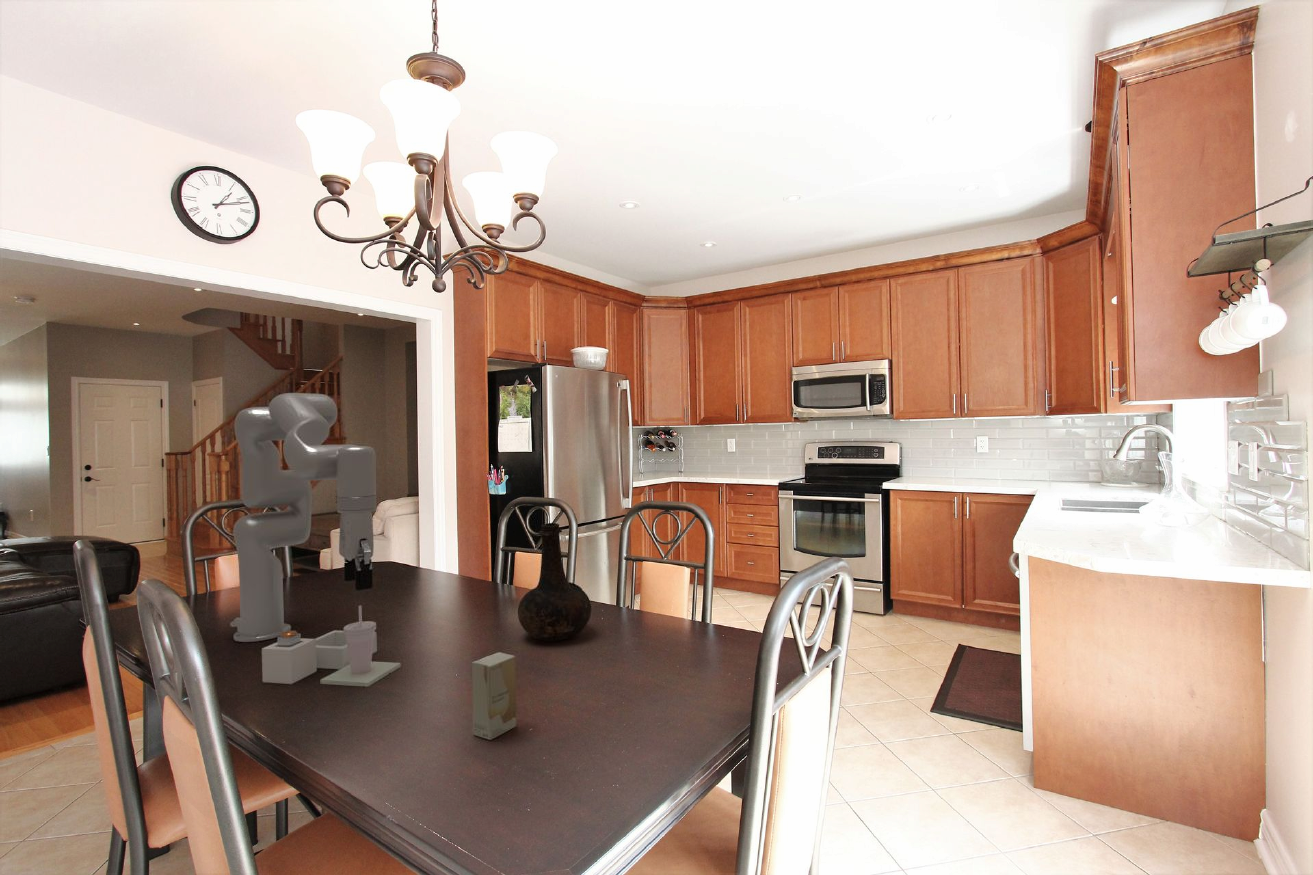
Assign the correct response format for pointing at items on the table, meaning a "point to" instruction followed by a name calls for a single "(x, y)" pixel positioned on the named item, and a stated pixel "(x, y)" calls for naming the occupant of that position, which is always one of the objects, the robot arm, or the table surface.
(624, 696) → the table surface
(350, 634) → the smoothie
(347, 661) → the holder
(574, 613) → the glass bottle
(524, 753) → the table surface
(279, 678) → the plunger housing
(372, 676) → the coaster
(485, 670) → the skincare box
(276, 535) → the robot arm
